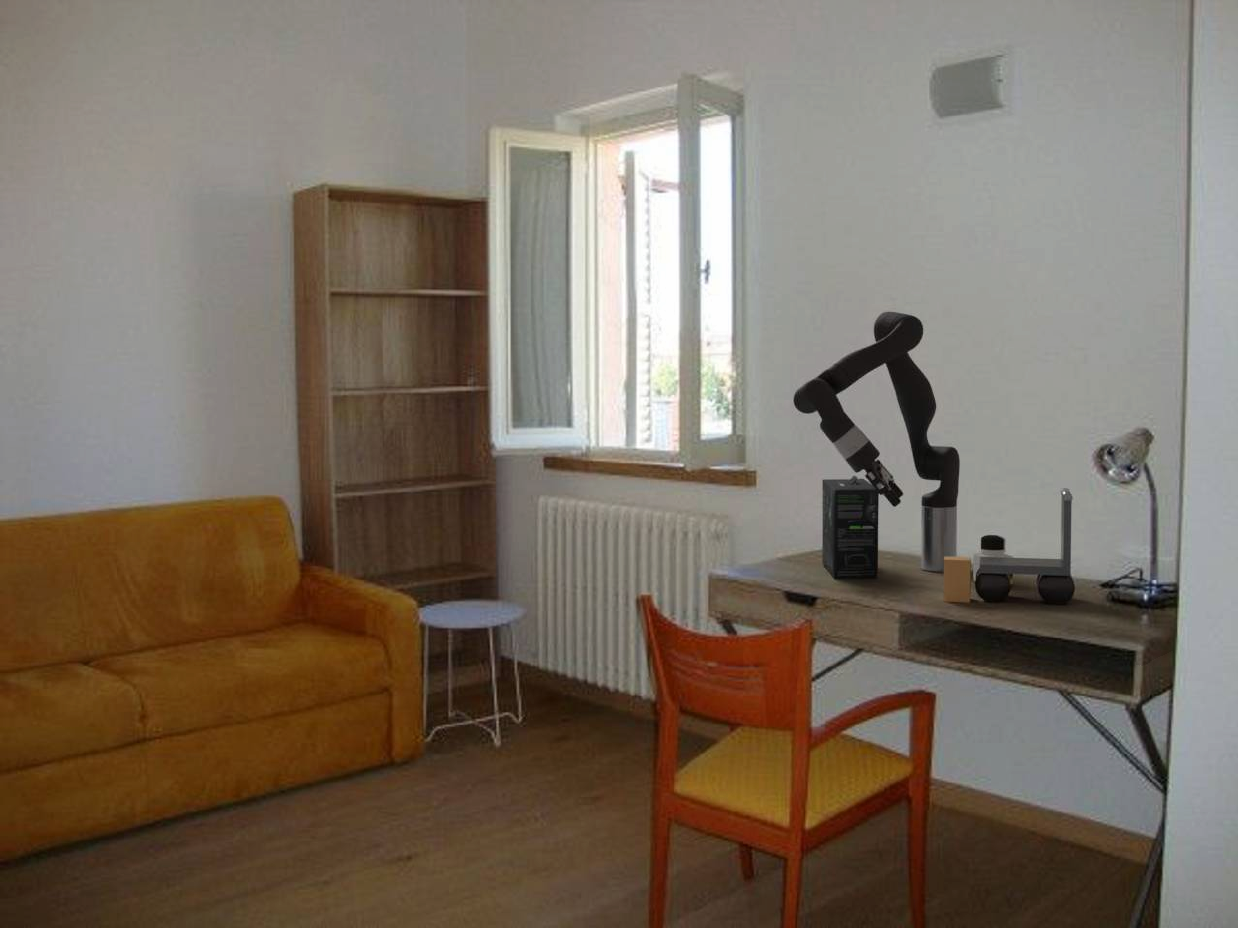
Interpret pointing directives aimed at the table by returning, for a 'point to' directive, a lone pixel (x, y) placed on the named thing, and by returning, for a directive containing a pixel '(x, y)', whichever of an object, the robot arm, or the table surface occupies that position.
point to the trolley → (1032, 568)
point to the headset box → (850, 528)
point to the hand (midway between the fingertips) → (899, 500)
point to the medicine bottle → (990, 551)
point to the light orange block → (957, 579)
